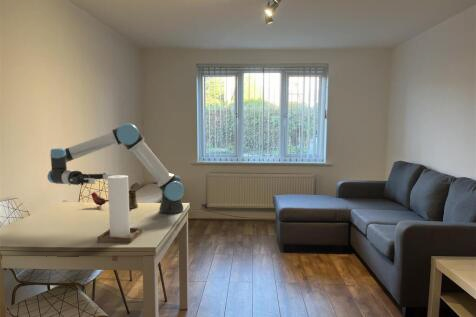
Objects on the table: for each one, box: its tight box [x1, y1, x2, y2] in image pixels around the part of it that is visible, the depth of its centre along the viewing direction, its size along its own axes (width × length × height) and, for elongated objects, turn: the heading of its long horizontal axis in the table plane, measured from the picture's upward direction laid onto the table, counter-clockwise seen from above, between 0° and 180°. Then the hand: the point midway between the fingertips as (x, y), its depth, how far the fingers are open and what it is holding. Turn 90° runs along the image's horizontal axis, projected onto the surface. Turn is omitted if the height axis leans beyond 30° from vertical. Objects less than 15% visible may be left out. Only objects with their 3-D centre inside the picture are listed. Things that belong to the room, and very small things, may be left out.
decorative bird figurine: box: [91, 191, 109, 208], centre depth 245 cm, size 3×18×10 cm, turn 65°
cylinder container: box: [107, 174, 131, 237], centre depth 180 cm, size 9×9×30 cm
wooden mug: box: [129, 182, 140, 210], centre depth 243 cm, size 9×14×18 cm, turn 42°
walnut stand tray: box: [97, 227, 143, 244], centre depth 182 cm, size 16×16×2 cm
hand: (104, 179), depth 190 cm, fingers open, 13 cm apart
